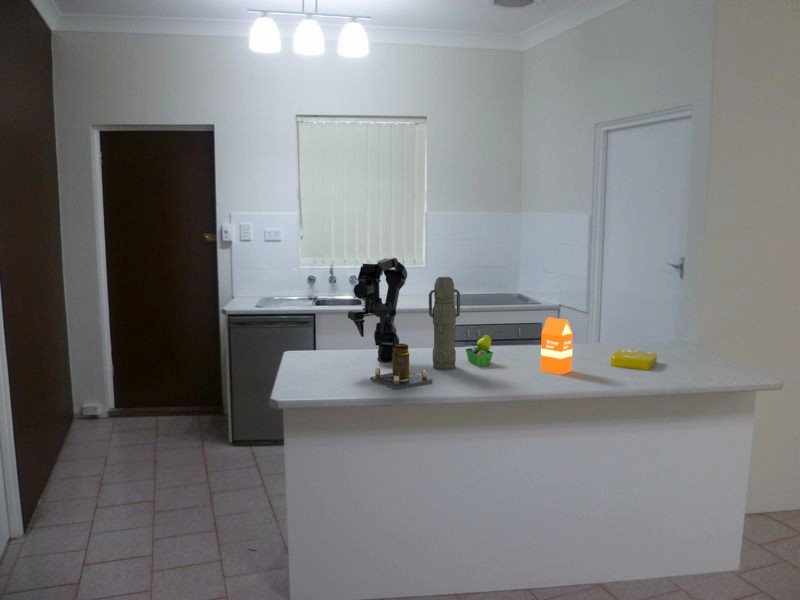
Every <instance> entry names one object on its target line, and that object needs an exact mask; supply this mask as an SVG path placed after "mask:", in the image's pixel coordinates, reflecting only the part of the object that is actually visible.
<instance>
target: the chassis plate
mask: <svg viewBox="0 0 800 600" xmlns="http://www.w3.org/2000/svg"><path fill="white" fill-rule="evenodd" d="M374 372H375V374H374V375H372V376H370V377H369V379H370V381H371V380H372V381H371V382H374V381H375V382H374V383H376V382H378V383H377V384H379V383H380V384H379V385H381V384H383V385H382V386H384V385H385V386H384V387H386V386H387V388H388V389H391V388H392V389H391V390H394V391H398V390H402V388H403V389H407V387H408V388H412V386H413V387H417V386H421V385H422V386H423V385H428V384H432V383H433V379H432V378H430V377H428V370H426V369H425V370H424V369H423V370H421V374H418V373H414V372H413V371H410V370H409V375H412V377H411V378H410V379H409V380H408V381H399V376H398V375H395V376H394V380H387V379H388V378H389V377H391V376H392V374H393V372H389V373H385V374H381V368H378V367H377V368H375V369H374ZM397 389H398V390H397Z"/></svg>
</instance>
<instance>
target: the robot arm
mask: <svg viewBox="0 0 800 600" xmlns="http://www.w3.org/2000/svg"><path fill="white" fill-rule="evenodd" d="M382 275H384V276H385V282H386V284H387V291H386V292H387V293H386V297H385V302H384V303H383V299H382V297H380V283H381V281H382V280H381V277H382ZM407 278H408V272H407V269H406V267H405V265H404V264H402V263H401V262H399V260H398V259H397V257H390V256H389V257H384V258H383V259H380V260H377V261H372V262H370V261H364V262H363V263H362V265H361V266H360V270H359V272H358V277H357V281H358V283H357V284H355V285H354V287H353V294H354V296H355V297H356V298H358V299H362V301H364V307H362V310H359V309H355V310H348V312H347V319H349V320H350V321H353V323H354V324H355V326H356V329H357V330H358V332H359V335H360V337H362V338H364V334H365V332H364V323H365V319H364V318H365V317H370V316H372V317H373V316H375V317H377V318H379V321H378V322H377V323H376V325H375V326H376V327H375V331H374V333H373V338H374V343H375V346H378V350H377V357H376V360H378V361H381V362H383V363H390V362H393V359H392V353H393V351H394V350H393V349H394V347H393V346H394V345H395V344H400V337H399V336H398V334H397V329H396V328H397V327H396V325H395V323H394V322H395V317H396V315H397V307H398V301H399V300H398V299H399V295H400V290H401V289H402V288H403V287H404V286H405V284H406V280H407Z"/></svg>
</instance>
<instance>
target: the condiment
mask: <svg viewBox="0 0 800 600" xmlns="http://www.w3.org/2000/svg"><path fill="white" fill-rule="evenodd" d="M393 347H394V349H393V350H394V351H393V353H392V359H393V361H392V373H393V374H392V376H391V377H389V378H388V379H387V380H394V376H395V375H398V376H399V381H408V380H409V379H410V378H411V377H412V375H409V371H410V351H409V345H408V344H407V343H399V344H395V345H394V346H393Z"/></svg>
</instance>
